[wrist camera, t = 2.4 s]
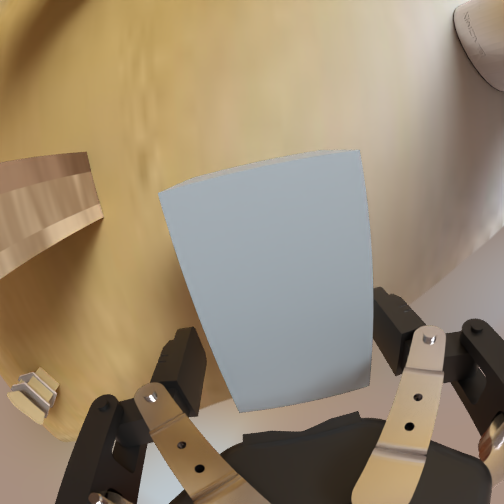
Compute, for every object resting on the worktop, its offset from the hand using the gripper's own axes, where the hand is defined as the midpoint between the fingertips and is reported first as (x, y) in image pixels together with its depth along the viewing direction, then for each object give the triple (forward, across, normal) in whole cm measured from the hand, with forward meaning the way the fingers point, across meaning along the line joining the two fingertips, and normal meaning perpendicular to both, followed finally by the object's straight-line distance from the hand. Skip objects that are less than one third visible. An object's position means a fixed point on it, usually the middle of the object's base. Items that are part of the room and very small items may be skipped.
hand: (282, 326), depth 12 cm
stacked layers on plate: (+8, +31, +10) cm, 34 cm away
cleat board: (+7, +17, -8) cm, 20 cm away
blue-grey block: (+7, 0, -2) cm, 7 cm away
